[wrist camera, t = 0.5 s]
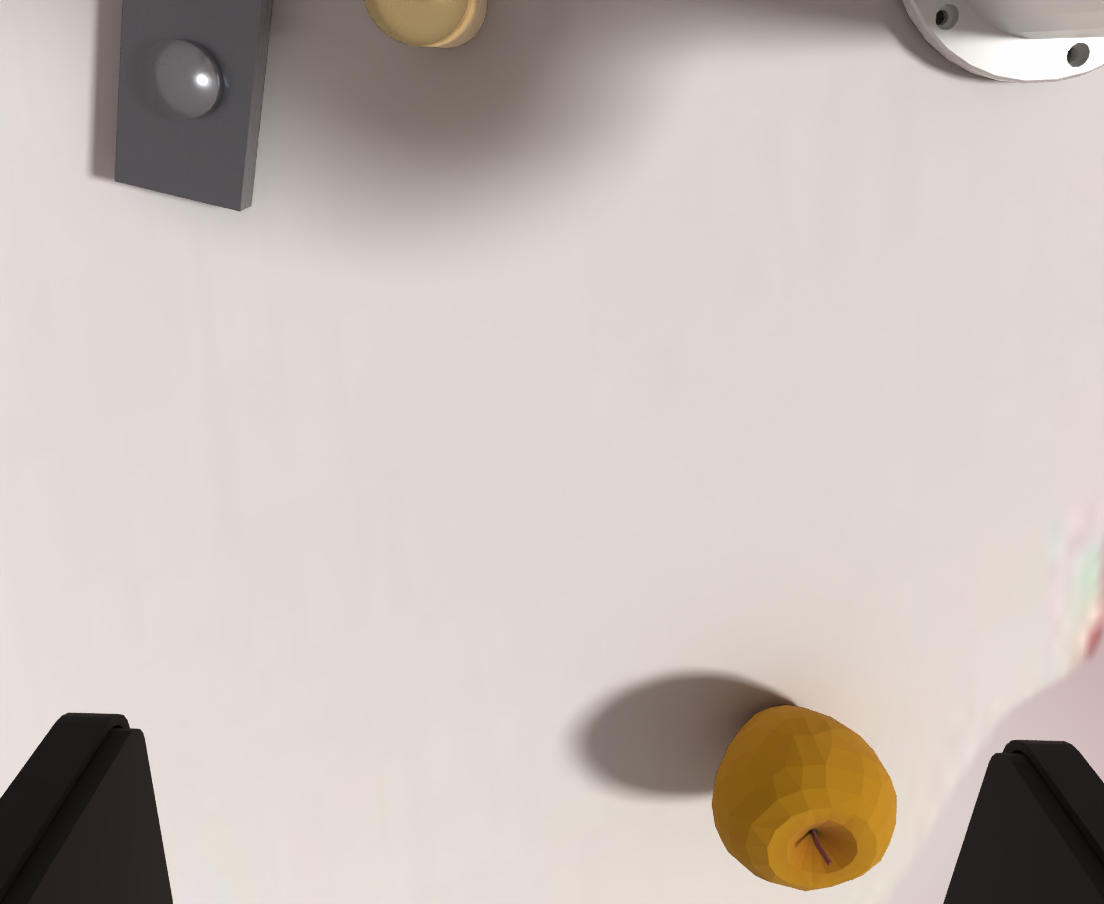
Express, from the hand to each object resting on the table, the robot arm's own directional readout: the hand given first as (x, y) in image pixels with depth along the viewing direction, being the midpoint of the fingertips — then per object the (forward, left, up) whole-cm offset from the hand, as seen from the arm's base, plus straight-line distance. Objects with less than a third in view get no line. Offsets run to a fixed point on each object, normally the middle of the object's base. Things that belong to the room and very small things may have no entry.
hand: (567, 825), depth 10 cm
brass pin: (-4, -10, -31) cm, 33 cm away
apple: (+10, +28, -32) cm, 43 cm away
